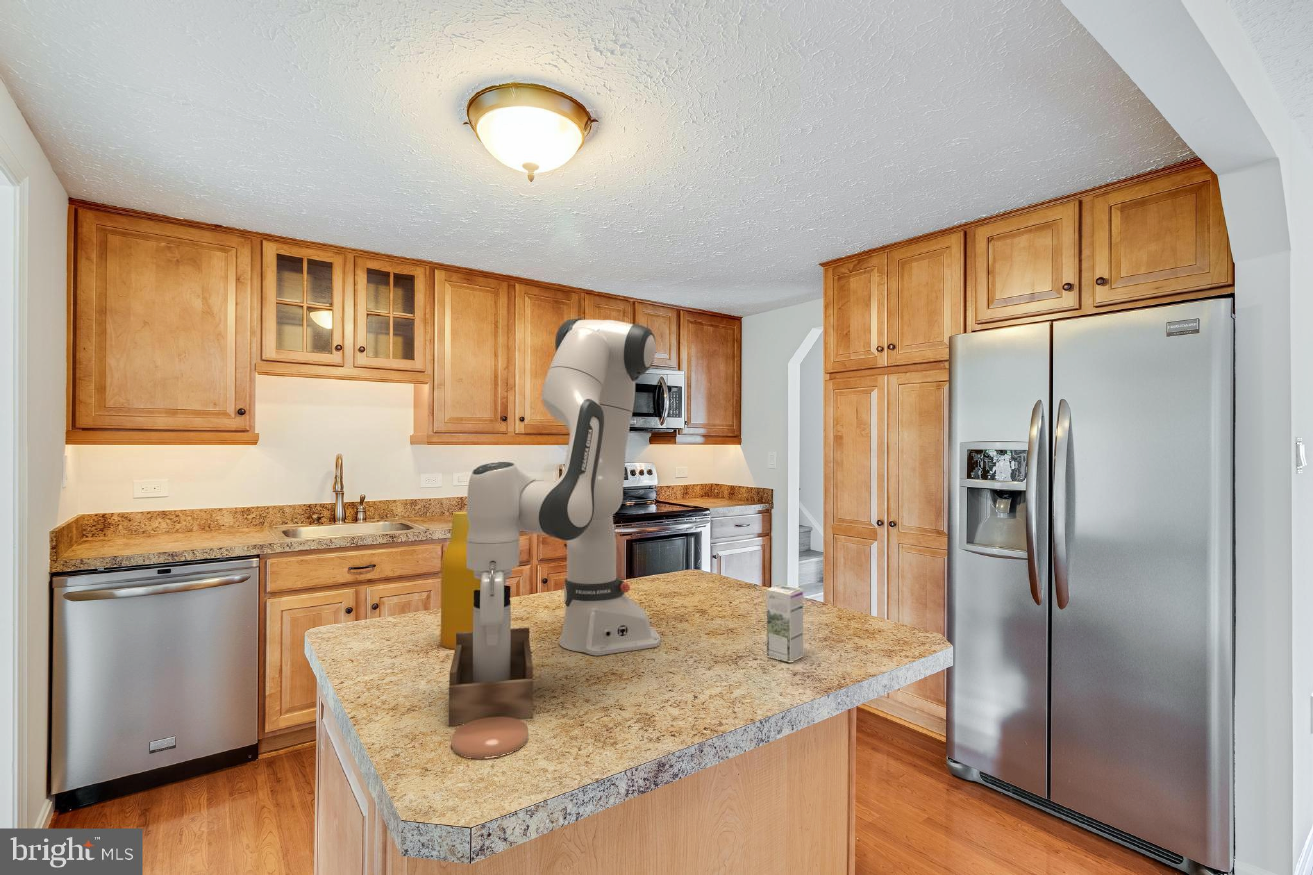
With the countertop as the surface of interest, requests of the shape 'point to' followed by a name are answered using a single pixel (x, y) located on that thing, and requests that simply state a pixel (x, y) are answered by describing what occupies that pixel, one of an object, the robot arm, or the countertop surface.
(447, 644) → the beer bottle
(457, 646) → the frame
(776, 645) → the syrup box
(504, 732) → the saucer
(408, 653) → the countertop surface
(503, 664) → the travel mug
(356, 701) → the countertop surface
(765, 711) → the countertop surface
